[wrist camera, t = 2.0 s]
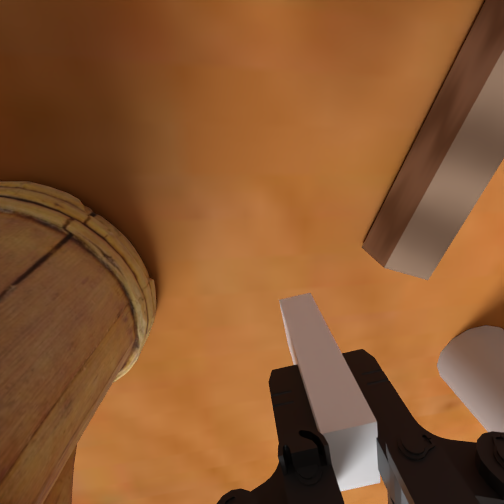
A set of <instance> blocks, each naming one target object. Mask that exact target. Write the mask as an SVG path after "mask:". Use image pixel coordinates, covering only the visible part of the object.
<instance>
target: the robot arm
mask: <svg viewBox="0 0 504 504" xmlns="http://www.w3.org/2000/svg"><path fill="white" fill-rule="evenodd" d="M279 302H280V307H281V312H282V317H283V322H284V327H285V332H286V337H287V342H288V346H289V349H290V353H291V356H292V360H293V363H294V365H292V366H288V367H284V368H279V369H275V370H272V372H271V376H270V379H269V387H270V393H271V399H272V405H273V411H274V417H275V422H276V428H277V434H278V440H279V445H278V458H279V464H278V466H277V469H276V471H275V472H274V473H273V475H272V476H271V477H270V478H269V479H268V480H267V481H266V482H264V483H263V484H261V485H260V486H258V487H257V488H255V489H254V490H252V491H251V492H250V491H247V490H244V489H236V490H231V491H230V492H228V493H226V494H225V495H223V496H222V497H221V499H220V500H219V501H218V503H217V504H344V501H343V498H342V495H341V491H345V490H349V489H354V488H358V487H363V486H367V485H372V484H376V483H380V475H381V477H382V479H383V481H384V484H385V486H386V488H387V490H388V504H504V432H495V431H491V432H488V433H484V434H482V435H481V436H480V437H479V439H478V440H477V443H474V442H465V441H457V440H449V439H444V438H441V437H438V436H436V435H433V434H432V433H430V432H428V431H427V430H425V429H424V428H423V427H421V426H420V425H419V424H418V423H417V421H416V420H415V419H414V418H413V416H412V415H411V413H410V412H409V410H408V409H407V407H406V406H405V404H404V402H403V401H402V399H401V398H400V396H399V395H398V393H397V392H396V390H395V389H394V387H393V386H392V384H391V383H390V381H389V380H388V378H387V376H386V375H385V373H384V372H383V371H382V369H381V367H380V366H379V364H378V363H377V361H376V359H375V358H374V357H373V356H371V355H370V354H369V353H367V352H366V351H365V350H363V349H360V350H356V351H351V352H347V353H341V351H340V349H339V347H338V345H337V343H336V342H335V340H334V338H333V336H332V334H331V332H330V330H329V328H328V326H327V324H326V322H325V320H324V318H323V316H322V314H321V313H320V311H319V309H318V307H317V305H316V303H315V301H314V299H313V297H312V295H311V293H307V294H303V295H298V296H294V297H290V298H285V299H281V300H279Z"/></svg>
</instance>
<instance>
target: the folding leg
mask: <svg viewBox="0 0 504 504" xmlns="http://www.w3.org/2000/svg"><path fill="white" fill-rule="evenodd" d="M503 159H504V0H486V1H485V3H484V5H483V7H482V9H481V11H480V13H479V15H478V17H477V19H476V21H475V23H474V25H473V26H472V28H471V30H470V32H469V34H468V36H467V38H466V40H465V42H464V44H463V46H462V48H461V50H460V52H459V54H458V56H457V58H456V60H455V62H454V64H453V66H452V68H451V70H450V72H449V74H448V76H447V78H446V80H445V82H444V84H443V86H442V88H441V90H440V92H439V94H438V96H437V98H436V100H435V102H434V104H433V106H432V108H431V110H430V112H429V114H428V116H427V118H426V120H425V122H424V124H423V126H422V128H421V130H420V132H419V134H418V136H417V138H416V140H415V142H414V144H413V146H412V148H411V150H410V152H409V154H408V156H407V158H406V160H405V162H404V164H403V166H402V168H401V170H400V172H399V174H398V176H397V178H396V180H395V182H394V184H393V186H392V188H391V190H390V192H389V194H388V196H387V198H386V200H385V202H384V204H383V206H382V208H381V210H380V212H379V214H378V216H377V218H376V220H375V222H374V224H373V226H372V228H371V230H370V232H369V234H368V236H367V238H366V240H365V242H364V244H363V246H362V248H363V249H364V250H365V251H366V252H367V253H368V254H369V255H371V256H372V257H373V258H374V259H375V260H376V261H377V262H378V263H379V264H381V265H382V266H383V267H384V268H387V269H390V270H394V271H397V272H401V273H404V274H408V275H411V276H415V277H418V278H422V279H425V280H429V278H430V276H431V275H432V273H433V271H434V270H435V268H436V267H437V265H438V263H439V262H440V260H441V259H442V257H443V255H444V254H445V252H446V251H447V249H448V247H449V246H450V244H451V242H452V241H453V239H454V238H455V236H456V234H457V233H458V231H459V230H460V228H461V226H462V225H463V223H464V222H465V220H466V218H467V217H468V215H469V213H470V212H471V210H472V209H473V207H474V205H475V204H476V202H477V201H478V199H479V197H480V196H481V194H482V193H483V191H484V189H485V188H486V186H487V184H488V183H489V181H490V180H491V178H492V176H493V175H494V173H495V172H496V170H497V168H498V167H499V165H500V163H501V162H502V160H503Z"/></svg>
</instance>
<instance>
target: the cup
mask: <svg viewBox="0 0 504 504" xmlns="http://www.w3.org/2000/svg"><path fill="white" fill-rule="evenodd" d="M437 367H438V370H439V374H440V376H441V377H442V379H443V380H444V381H445V382H446V383H447V384H448V386H449V387H450V388H451V389H452V390H453V391H454V393H455V394H456V395H457V396H458V397H459V398H460V400H461V401H462V402H463V403H464V404H465V405H466V407H467V408H468V409H469V410H470V411H471V413H472V414H473V415H474V416H475V417H476V418H477V420H478V421H479V422H480V423H481V424H482V425H483V427H484V428H485V429H486V430H487V431H488V432H491V431H495V432H504V330H503V329H502V328H500V327H494V326H487V325H484V326H480V327H476V328H472V329H468V330H466V331H465V332H463V333H462V334H460V335H458V336H457V337H455V338H453V339H452V340H451V341H450V342H449V343H448V345H447V346H446V347H445V348H444V349H443V350H442V352H441V354H440V357H439V360H438V363H437Z"/></svg>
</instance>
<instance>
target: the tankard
mask: <svg viewBox="0 0 504 504" xmlns="http://www.w3.org/2000/svg"><path fill="white" fill-rule="evenodd" d="M155 313H156V291H155V284H154V280H153V279H151V278H149V274H148V271H147V269H146V267H145V265H144V263H143V262H142V260H141V258H140V256H139V254H138V253H137V251H136V250H135V248H134V247H133V245H132V244H131V243H130V242H129V240H128V239H127V238H126V237H125V236H124V235H123V234H122V233H121V232H120V231H119V230H118V229H117V228H115V227H114V226H113V225H112V224H111V223H109V222H108V221H107V220H106V219H104V218H103V217H102V216H100V215H98V214H95V213H93V211H92V210H91V208H88V207H86V206H84V205H83V204H82V203H81V201H80V199H78V198H76V197H74V196H72V195H70V194H69V193H66V192H63V191H61V190H58V189H55V188H52V187H49V186H45V185H41V184H37V183H33V182H30V181H0V504H71V503H72V485H73V470H74V461H75V454H76V447H77V443H78V441H79V439H80V438H81V436H82V434H83V432H84V431H85V429H86V427H87V426H88V424H89V422H90V420H91V419H92V417H93V415H94V414H95V412H96V410H97V408H98V407H99V405H100V403H101V402H102V400H103V398H104V397H105V395H106V393H107V391H108V390H109V388H110V386H111V385H112V383H113V382H115V381H116V380H118V379H119V378H121V377H122V376H123V375H125V374H126V373H127V372H128V371H129V370H130V369H131V367H132V366H133V365H134V364H135V362H136V361H137V360H138V358H139V355H140V353H141V350H142V348H143V346H144V344H145V342H146V340H147V338H148V336H149V333H150V330H151V327H152V325H153V322H154V319H155Z"/></svg>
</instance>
